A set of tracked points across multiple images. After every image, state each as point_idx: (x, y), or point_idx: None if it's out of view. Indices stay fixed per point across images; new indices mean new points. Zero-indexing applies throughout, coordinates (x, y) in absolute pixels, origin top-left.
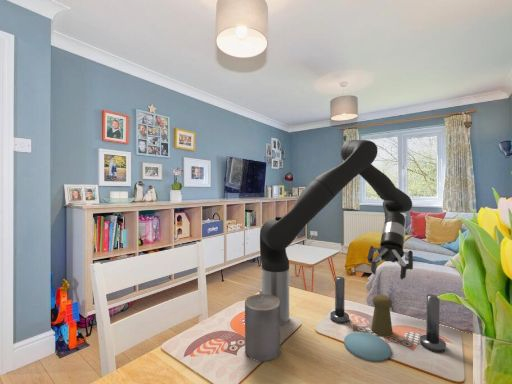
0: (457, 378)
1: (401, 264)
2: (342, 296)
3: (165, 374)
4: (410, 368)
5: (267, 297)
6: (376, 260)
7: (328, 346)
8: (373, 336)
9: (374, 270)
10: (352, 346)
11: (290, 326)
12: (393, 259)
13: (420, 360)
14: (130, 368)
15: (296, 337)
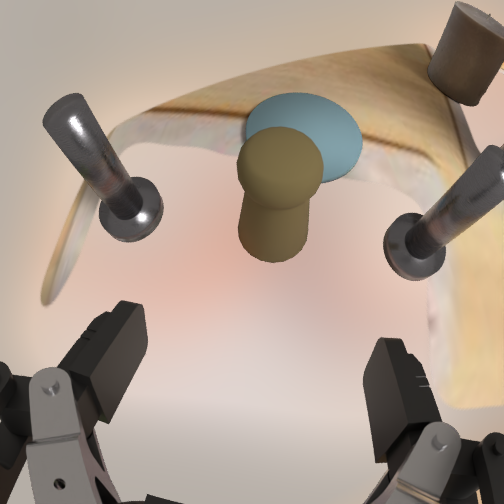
0: (127, 120)
1: (75, 401)
2: (444, 194)
3: None
4: (208, 107)
5: (493, 27)
6: (415, 447)
7: (380, 113)
8: None
9: (387, 342)
10: (334, 112)
11: None
12: (160, 499)
13: (181, 138)
14: None
15: (444, 125)
